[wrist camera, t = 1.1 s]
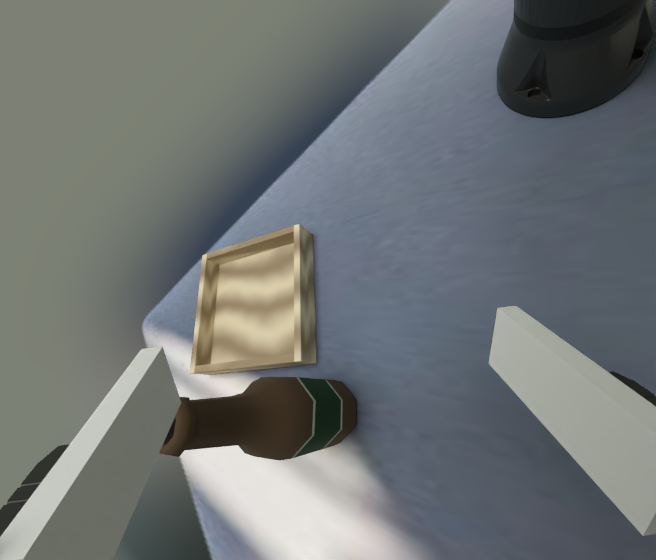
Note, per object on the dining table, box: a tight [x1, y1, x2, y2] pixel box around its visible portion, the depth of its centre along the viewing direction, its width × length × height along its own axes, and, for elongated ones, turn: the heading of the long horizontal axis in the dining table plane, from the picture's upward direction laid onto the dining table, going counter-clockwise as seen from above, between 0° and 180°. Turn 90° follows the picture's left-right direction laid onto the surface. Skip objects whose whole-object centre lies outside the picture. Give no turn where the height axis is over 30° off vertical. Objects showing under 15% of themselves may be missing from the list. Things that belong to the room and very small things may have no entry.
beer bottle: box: [159, 377, 356, 460], centre depth 30 cm, size 8×8×24 cm
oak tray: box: [190, 224, 317, 375], centre depth 49 cm, size 20×20×4 cm
